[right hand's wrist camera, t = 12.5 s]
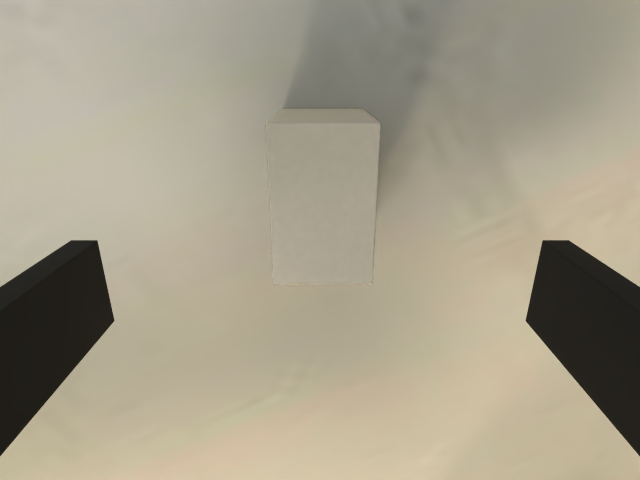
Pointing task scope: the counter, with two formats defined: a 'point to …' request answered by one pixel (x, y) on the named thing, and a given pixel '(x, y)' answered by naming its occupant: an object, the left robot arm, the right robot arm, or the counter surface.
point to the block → (323, 195)
